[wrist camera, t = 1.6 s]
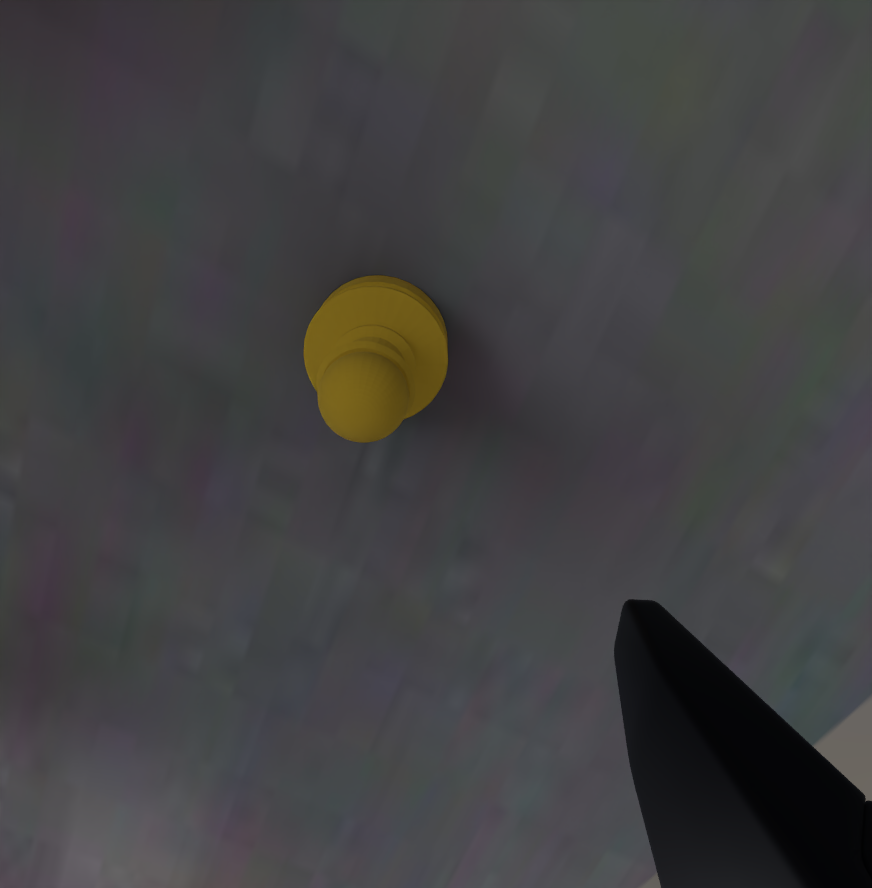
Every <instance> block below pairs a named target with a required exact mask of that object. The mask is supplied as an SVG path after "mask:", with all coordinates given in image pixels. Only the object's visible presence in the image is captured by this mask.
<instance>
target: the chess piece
mask: <svg viewBox="0 0 872 888" xmlns="http://www.w3.org/2000/svg"><path fill="white" fill-rule="evenodd" d="M304 361H305V367H306V370H307V373H308V376H309V379H310V381H311V383H312V384H313V386H314V388H315V389H316V391H317V394H318V404H319V409H320V412H321V415H322V417H323V419H324V420H325V422H326V424H327V425H328V426H329V427H330V428H331V429H332V430H333V431H334V432H335V433H336V434H338V435H339V436H341V437H343V438H345V439H347V440H350V441H354V442H360V443H364V442H373V441H378V440H380V439H382V438H385V437H386V436H388V435H389V434H391V433H392V432H393V431H394V430H395V429H397V428H398V426H399V425H400V424H401V422H402V421H403V419H406V418H408V417H411V416H413V415H415V414H416V413H418V412H419V411H421V410H422V409H424V408H425V407H426V406H427V405H428V404H429V403H430V402H431V401H432V400H433V399H434V397H435V396H436V394H437V393H438V391H439V390H440V389H441V386H442V384H443V381H444V379H445V376H446V372H447V366H448V340H447V331H446V327H445V323H444V320H443V318H442V316H441V314H440V312H439V310H438V308H437V307H436V305H435V304H434V303H433V301H432V300H431V299H430V298H429V297H428V296H427V295H426V294H425V293H424V292H423V291H422V290H420V289H419V288H417V287H415V286H414V285H412V284H411V283H409V282H406V281H404V280H401V279H398V278H395V277H389V276H383V275H375V276H365V277H361V278H356V279H354V280H352V281H349V282H347V283H345V284H343V285H342V286H340V287H339V288H338V289H336V290H335V291H334V292H332V294H331V295H330V296H329V297H328V298H327V299H326V301H325V302H324V303H323V305H322V306H321V308H320V309H319V310H318V311H317V313H316V314H315V315H314V317H313V319H312V321H311V323H310V324H309V326H308V329H307V333H306V336H305V340H304Z"/></svg>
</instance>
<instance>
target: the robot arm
mask: <svg viewBox="0 0 872 888" xmlns="http://www.w3.org/2000/svg"><path fill="white" fill-rule="evenodd" d="M614 657H615V666H616V673H617V680H618V687H619V694H620V701H621V708H622V715H623V722H624V729H625V736H626V743H627V750H628V756H629V762H630V767H631V772H632V776H633V780H634V785H635V789H636V792H637V796H638V800H639V804H640V808H641V812H642V815H643V819H644V823H645V827H646V831H647V835H648V838H649V842H650V846H651V850H652V854H653V858H654V861H655V865H656V869H657V873H658V877H659V880H660V884H661V888H872V801H866V802H865V795H864V794H863V793H862V792H861V791H860V790H859V789H858V788H857V787H856V786H855V785H853V784H852V783H851V782H850V781H849V780H848V779H847V778H846V777H845V776H844V775H843V774H842V773H841V772H839V771H838V770H837V769H836V768H835V767H834V766H833V765H832V764H831V763H830V762H829V761H828V760H827V759H826V758H824V757H823V756H822V755H821V754H820V753H819V752H818V751H817V750H816V749H815V748H814V747H813V746H812V745H810V744H809V743H808V742H807V741H806V740H805V739H804V738H803V737H802V736H801V735H800V734H799V733H798V732H797V731H795V730H794V729H793V728H792V727H791V726H790V725H789V724H788V723H787V722H786V721H785V720H784V719H783V718H781V717H780V716H779V715H778V714H777V713H776V712H775V711H774V710H773V709H772V708H771V707H770V706H769V705H768V704H766V703H765V702H764V701H763V700H762V699H761V698H760V697H759V696H758V695H757V694H756V693H755V692H754V691H752V690H751V689H750V688H749V687H748V686H747V685H746V684H745V683H744V682H743V681H742V680H741V679H740V678H739V677H737V676H736V675H735V674H734V673H733V672H732V671H731V670H730V669H729V668H728V667H727V666H726V665H725V664H723V663H722V662H721V661H720V660H719V659H718V658H717V657H716V656H715V655H714V654H713V653H712V652H711V651H709V650H708V649H707V648H706V647H705V646H704V645H703V644H702V643H701V642H700V641H699V640H698V639H697V638H696V637H694V636H693V635H692V634H691V633H690V632H689V631H688V630H687V629H686V628H685V627H684V626H683V625H682V624H680V623H679V622H678V621H677V620H676V619H675V618H674V617H673V616H672V615H671V614H670V613H669V612H668V611H667V610H665V609H664V608H663V607H662V606H661V605H660V604H659V603H657V602H655V601H652V600H634V599H630V600H628V601H626V602H625V603H624V605H623V608H622V612H621V617H620V622H619V626H618V631H617V636H616V640H615V647H614Z"/></svg>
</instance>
